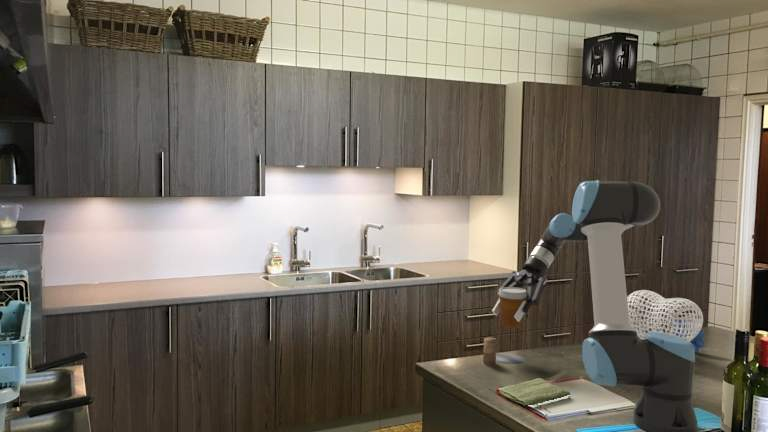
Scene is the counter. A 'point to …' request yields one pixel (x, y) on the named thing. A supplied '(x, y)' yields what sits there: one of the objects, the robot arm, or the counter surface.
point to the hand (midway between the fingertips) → (505, 316)
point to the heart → (662, 302)
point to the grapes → (697, 340)
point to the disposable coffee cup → (511, 305)
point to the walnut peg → (489, 351)
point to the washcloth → (533, 392)
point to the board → (508, 359)
